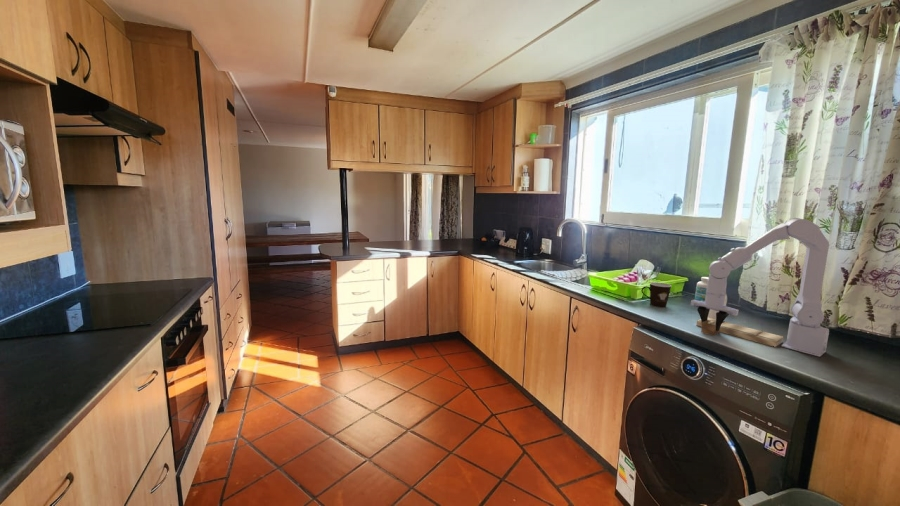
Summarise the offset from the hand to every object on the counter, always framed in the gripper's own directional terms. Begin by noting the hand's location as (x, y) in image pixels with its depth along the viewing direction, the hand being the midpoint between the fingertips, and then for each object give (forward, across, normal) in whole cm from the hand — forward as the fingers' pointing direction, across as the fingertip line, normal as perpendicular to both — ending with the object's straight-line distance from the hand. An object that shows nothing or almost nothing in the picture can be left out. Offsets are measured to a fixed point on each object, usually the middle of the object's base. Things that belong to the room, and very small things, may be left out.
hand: (710, 328), depth 135 cm
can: (+2, +5, -18) cm, 18 cm away
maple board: (+1, -6, -8) cm, 10 cm away
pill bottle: (+2, +16, -36) cm, 40 cm away
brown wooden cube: (+2, 0, 0) cm, 2 cm away
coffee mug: (+2, +29, -18) cm, 34 cm away
